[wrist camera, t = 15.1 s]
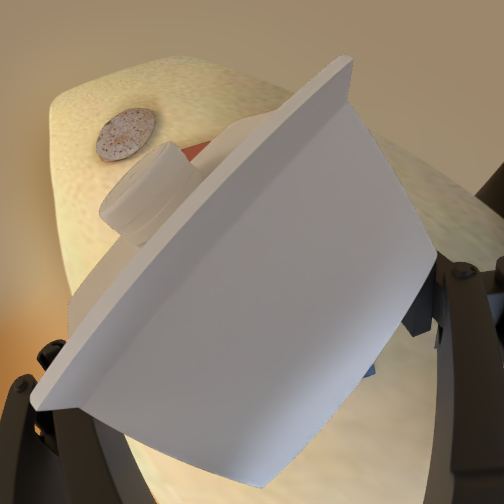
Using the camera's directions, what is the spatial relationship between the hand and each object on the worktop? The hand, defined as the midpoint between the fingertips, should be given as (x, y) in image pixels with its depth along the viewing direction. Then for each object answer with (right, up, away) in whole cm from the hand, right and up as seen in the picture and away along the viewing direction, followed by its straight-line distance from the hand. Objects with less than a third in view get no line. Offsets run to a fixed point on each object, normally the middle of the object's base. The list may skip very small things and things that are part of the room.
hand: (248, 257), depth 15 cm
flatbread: (-14, +14, +18) cm, 27 cm away
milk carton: (+2, -6, +7) cm, 9 cm away
